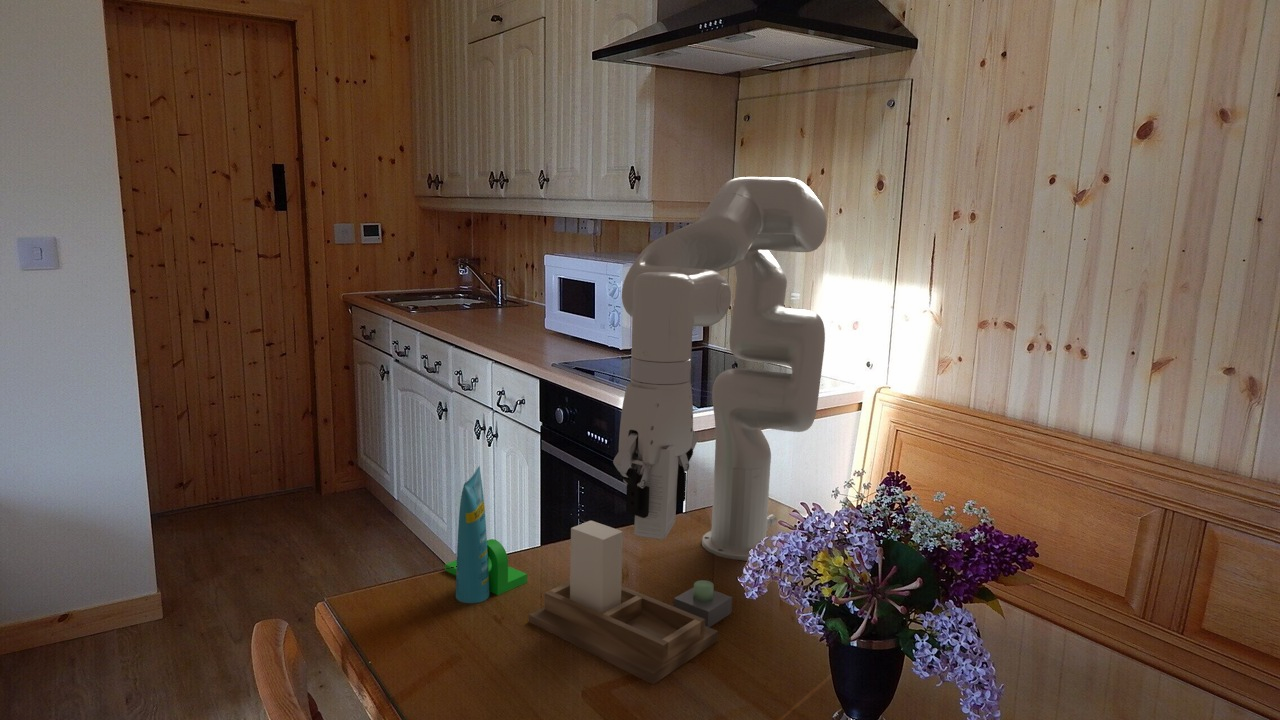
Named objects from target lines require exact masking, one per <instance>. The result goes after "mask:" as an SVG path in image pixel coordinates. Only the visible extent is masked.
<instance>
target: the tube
mask: <svg viewBox="0 0 1280 720" xmlns="http://www.w3.org/2000/svg"><path fill="white" fill-rule="evenodd" d="M481 475H482V474H481V467H480V465H478V466H477V468H476V469H475V470H474V472H473V475H471V476H470V478H469V479H467V481H465V482H464V483H463V486H462V489H461V490H462V491H461V496H460V505H459V515H458V529H457V546H456V560H457V570H456V576H455V577H456V578H455V599H456V600H457V601H458V602H461V603H466V604H477V603H481V602H484V601H487V600H488V599H489V597H490V591H489V572H488V552H487V540H488V539H487V525H486V524H487V522H486V521H487V520H486V509H485V507H486V506H485V498H484V490H483V489H484V488H483V483H482V476H481Z"/></svg>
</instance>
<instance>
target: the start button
mask: <svg viewBox="0 0 1280 720" xmlns="http://www.w3.org/2000/svg"><path fill="white" fill-rule="evenodd" d="M693 587H694V599H695V600H697V601H699V602H710V601H712V600H713V590H714V583H713V581H712V582H711V581H709V580H705V579H704V580H703V579H702V580H701V579H700V580H697V581H695V582H694V583H693Z"/></svg>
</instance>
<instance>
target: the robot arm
mask: <svg viewBox="0 0 1280 720" xmlns="http://www.w3.org/2000/svg"><path fill="white" fill-rule="evenodd" d="M827 225H828V224H827V215H826V211H825V209H824V206H823V204H822V203H821V201H820V200H819V199H818V196H816V194H815V193H814V192H813V190H812V189H811V188H810V187H809V186H808V185H807V184H806V183H804V182H803V181H802V180H800V179H796V178H794V177H780V176H779V177H774V176H773V177H772V176H771V177H769V176H762V177H760V176H759V177H758V176H746V177H745V176H742V177H737V178H733V179H730V180H728V181H727V182H725V183H724V184H723V185H722V186H721V187H720V188H719V190H718V191H717V192H716V194H715V195H714V197H713V198H712V200H711V201H710V203H709V204H708V206H707V207H706V209H705V211H703V212H702V215H701V216H700V217H699V219H698V220H697V221H695V222H692V223H690V224H688V225H687V224H686V225H684V226H683V227H681V228H679V229H676V230H674V231H672V232H669V233H667V234H665V235H663V236H661V237H659V238H656V240H654V241H652V242H650V244H648V245H647V246H646V247H645V248H644V249H643V250H642V251H641V252H640V254H639V255H638V256H637V258H636V259H635V261H633V263H632V265H631V267H630V268H629V270H628V272H627V273H626V276H625V278H624V280H623V284H622V289H621V300H622V306H623V307H624V310H625V312H626V313H627V314H628V315H629V316H630V317H631V318H632V320H631V354H630V356H631V358H630V382H629V383H627V385H626V387H625V392H624V397H623V402H622V407H621V415H620V424H619V434H618V435H619V437H618V438H619V439H618V452H617V454H616V455H615V457H614V459H613V461H612V463H613V465H614V467H615V468H616V469H617V471H618V474H619V475H620V477H621V478H622V479H623V480H622V481H623V483H624V484H626V494H625V495H626V496H625V499H626V502H625V511H626V513H627V514H630V515H634V516H635V515H636V516H639V517H642V518H645V517H647V516H648V514H649V487H648V486H645V485H646V483H647V480H648V477H649V474H650V471H651V468H652V465H655V464H657V463H659V458H660V451H661V449H662V448H664V447H667V446H670V445H673V444H674V449H675V457H678V461H679V462H678V478H677V497H676V502H679V503H682V502H685V501H686V495H687V493H686V492H687V491H686V489H687V472H688V471H689V469H690V461H691V459H692V457H693V455H694V449H695V448H696V445H697V443H698V441H699V435H698V434H697V433H696V432H695V430H694V407H693V406H694V404H693V392H692V391H693V390H692V385H691V384H692V383H691V378H692V377H691V375H692V371H691V370H692V348H693V345H692V343H693V329H694V328H693V327H704V328H705V327H710V326H713V325H716V324H717V323H719V322H720V321H721V320H722V319H724V318H725V316H726V314H727V312H728V311H729V309H730V306H731V302H732V301H731V300H732V291H731V288H730V287H731V286H730V284H729V282H728V280H727V279H726V277H725V276H724V275H722V274H721V273H720V271H723V270H728V269H730V268H732V267H734V269H735V277H736V285H735V293H734V300H733V307H732V315H731V322H730V323H731V324H730V330H729V331H730V332H729V349H730V352H731V354H732V355H733V356H734V357H736V358H738V359H740V360H744V361H749V362H754V363H755V362H757V363H762V364H763V363H765V364H774V365H782V366H788V367H790V368H791V371H792V373H788V372H778V371H770V370H765V369H764V370H763V369H754V368H753V369H752V368H745V367H744V368H743V367H742V368H740V367H739V368H738V367H737V368H730V369H726V370H724V371H722V372H720V374H718V375H717V376H716V378H715V379H714V383H713V385H712V393H711V394H712V395H711V397H712V407H713V408H712V409H713V414H714V416H713V417H714V426H715V427H714V429H715V449H714V450H715V451H714V469H713V471H714V472H713V489H712V512H711V530H709V531H707V532H705V534H703V536H702V538H701V545H702V548H704V549H705V550H706V551H708V552H709V553H710V554H712V555H714V556H717V557H721V558H724V559H730V560H740V561H744V562H748V561H747V559H748V554H749V551H750V550H751V549H752V548H753V547H754V546H755V545H756V544H757V543H758V542H759V541H760V540H762V539H763V538H765V537H770V536H769V535H768V533H767V532H768V529H769V528H770V527H771V526H773V525H775V524H777V517H776V515H775V514H772V513H771V514H768V512H769V510H768V509H769V495H770V494H769V492H770V478H771V477H770V476H771V475H770V474H771V462H772V452H771V448H770V444H769V441H768V440H767V438H766V436H765V435H764V432H763V431H762V429H770V430H777V431H783V432H793V433H801V432H806V431H808V430H809V429H811V427H812V426H813V423H814V422H815V419H816V415H817V409H818V403H819V397H820V396H819V394H820V387H821V380H822V379H821V378H822V372H823V371H822V370H823V362H824V355H825V342H826V332H825V331H826V330H825V329H826V328H825V325H824V321H823V319H822V317H821V316H820V315H819V314H818V313H816V312H814V311H812V310H808V309H802V308H800V309H799V308H789V307H788V308H786V307H785V302H786V301H785V300H786V292H787V285H788V282H787V276H786V275H785V272H784V269H783V268H782V266H781V265H780V264H779V262H778V261H777V259H776V258H775V257H774V256H773V254H772V253H771V252H770V251H773V252H789V253H790V252H791V253H811V252H815V251H816V250H818V249H819V248H820V247H821V245H822V244H823V242H824V240H825V238H826V234H827V233H826V232H827ZM639 452H640V455H642V460H643V461H641V460H638V453H639ZM638 465H639V466H642V469H641V472H640V475H639V474H638V473H637V471H636V470H637V468H638Z"/></svg>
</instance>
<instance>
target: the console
mask: <svg viewBox="0 0 1280 720" xmlns="http://www.w3.org/2000/svg"><path fill="white" fill-rule="evenodd" d="M673 607H676V608H678V609H681V610H683V611H686V612H688V613H691V614H693V615H696V616H698V617H701V618H703V619H705V626H707V627H709V628H712V626H714V625H715V624H717V623H718V622H720V621H722V620H724V618H727V617H728V616H729V615H731V614H732V612H733V608H732V607H733V597H732V596H730V595H727V594H725V593H724V592H723V593H722V592H719V591H717V590H715V589H713V600H712V601H710V602H699V601H697V600H695V599H694V586H693V587H691V588H690V589H687V590H686V591H684V592H683V593H681V594H679V595H676V596H675V597H674V598H673Z"/></svg>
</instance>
